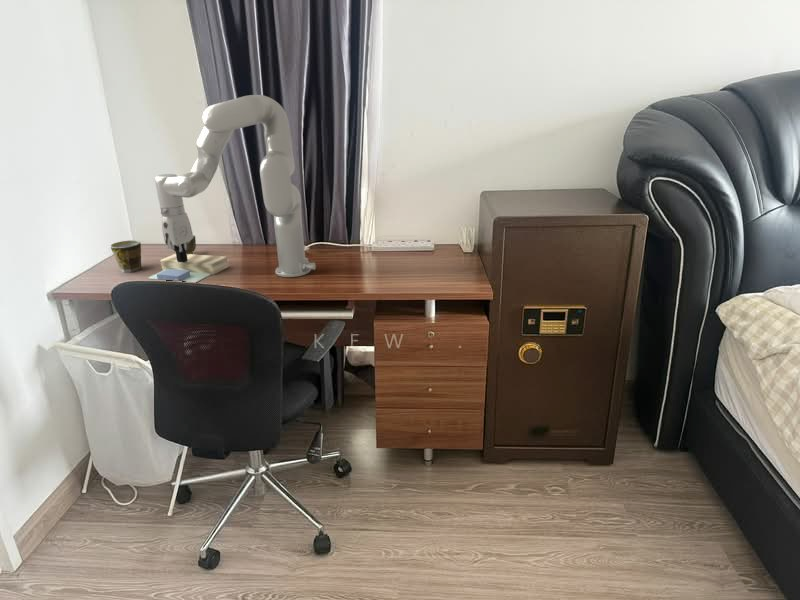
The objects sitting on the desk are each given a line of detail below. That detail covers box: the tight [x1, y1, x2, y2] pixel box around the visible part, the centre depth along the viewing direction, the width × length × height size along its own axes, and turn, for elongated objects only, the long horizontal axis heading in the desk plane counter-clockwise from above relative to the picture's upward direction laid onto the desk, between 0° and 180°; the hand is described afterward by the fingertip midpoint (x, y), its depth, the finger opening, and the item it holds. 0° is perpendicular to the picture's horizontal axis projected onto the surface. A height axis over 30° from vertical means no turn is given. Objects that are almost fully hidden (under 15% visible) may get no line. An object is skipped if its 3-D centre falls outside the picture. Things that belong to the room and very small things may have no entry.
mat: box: [146, 270, 211, 283], centre depth 185 cm, size 20×9×1 cm, turn 74°
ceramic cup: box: [109, 239, 142, 273], centre depth 191 cm, size 13×10×10 cm
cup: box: [185, 234, 197, 254], centre depth 207 cm, size 8×7×8 cm
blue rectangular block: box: [156, 269, 190, 282], centre depth 183 cm, size 9×6×2 cm, turn 73°
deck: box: [160, 253, 229, 276], centre depth 193 cm, size 22×9×4 cm, turn 74°
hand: (182, 261), depth 186 cm, fingers closed
